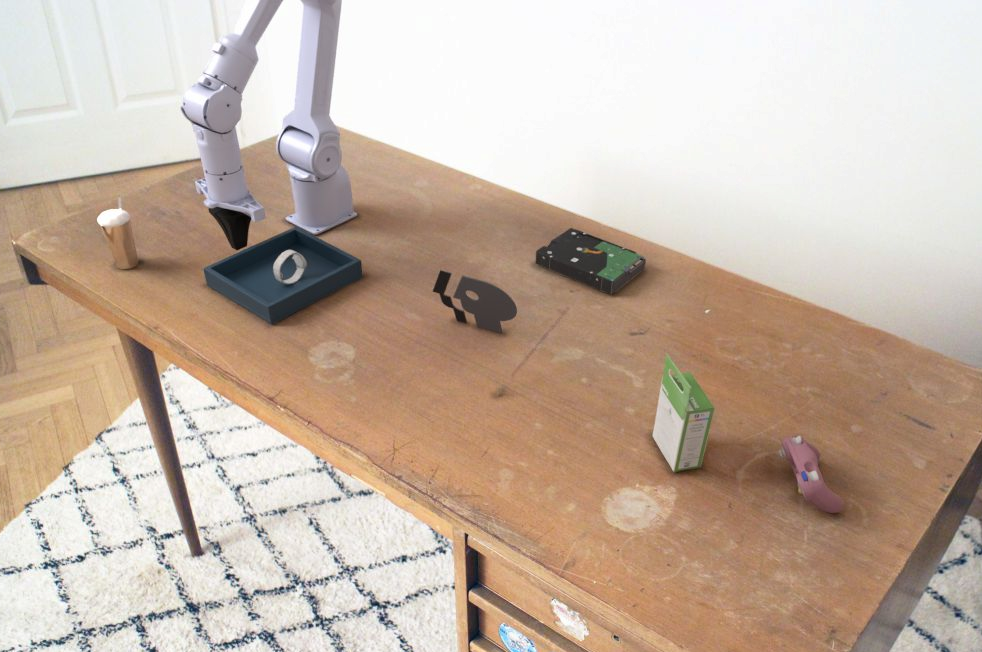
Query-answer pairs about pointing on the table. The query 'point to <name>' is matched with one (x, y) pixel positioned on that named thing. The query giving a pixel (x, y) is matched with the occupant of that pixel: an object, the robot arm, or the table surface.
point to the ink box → (682, 419)
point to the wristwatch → (299, 262)
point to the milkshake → (119, 236)
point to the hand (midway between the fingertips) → (239, 246)
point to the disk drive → (590, 260)
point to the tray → (255, 282)
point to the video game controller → (809, 474)
